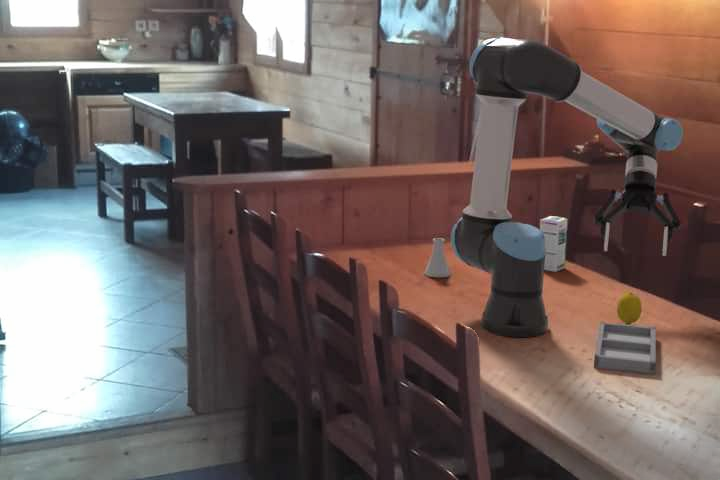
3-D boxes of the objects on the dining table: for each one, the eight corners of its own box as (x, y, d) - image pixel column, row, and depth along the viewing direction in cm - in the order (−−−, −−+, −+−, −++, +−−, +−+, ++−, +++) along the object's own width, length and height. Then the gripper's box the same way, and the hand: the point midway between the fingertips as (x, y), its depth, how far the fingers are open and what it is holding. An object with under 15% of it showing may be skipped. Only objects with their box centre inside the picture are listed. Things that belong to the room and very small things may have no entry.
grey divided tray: (654, 374, 197) (655, 363, 197) (593, 367, 200) (594, 356, 200) (654, 338, 219) (655, 327, 218) (599, 332, 222) (600, 321, 221)
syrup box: (556, 272, 270) (559, 221, 267) (537, 268, 274) (540, 218, 270) (565, 268, 275) (568, 218, 271) (546, 264, 278) (549, 215, 275)
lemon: (640, 329, 224) (643, 296, 222) (616, 327, 225) (618, 294, 223) (639, 322, 229) (642, 289, 227) (615, 320, 230) (617, 288, 228)
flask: (451, 278, 263) (453, 242, 260) (424, 278, 263) (425, 242, 260) (449, 271, 270) (451, 236, 267) (423, 271, 270) (424, 235, 267)
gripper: (691, 189, 244) (688, 262, 233) (589, 183, 250) (581, 254, 240) (694, 172, 237) (691, 246, 227) (589, 166, 244) (581, 238, 234)
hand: (634, 250), depth 234 cm, fingers open, 13 cm apart
